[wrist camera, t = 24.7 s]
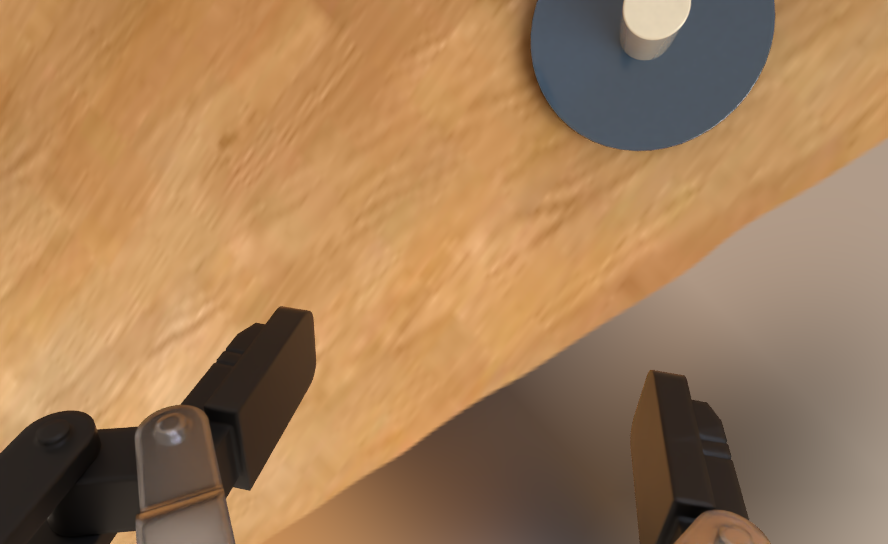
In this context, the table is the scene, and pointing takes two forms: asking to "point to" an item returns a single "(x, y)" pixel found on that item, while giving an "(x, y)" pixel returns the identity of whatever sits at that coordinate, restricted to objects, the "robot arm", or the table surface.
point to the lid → (648, 65)
